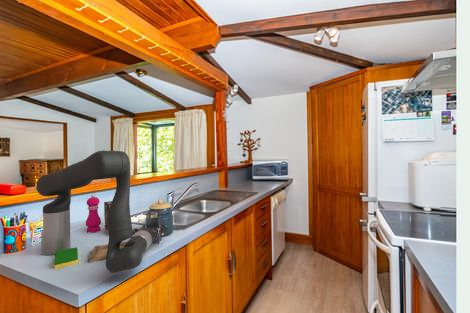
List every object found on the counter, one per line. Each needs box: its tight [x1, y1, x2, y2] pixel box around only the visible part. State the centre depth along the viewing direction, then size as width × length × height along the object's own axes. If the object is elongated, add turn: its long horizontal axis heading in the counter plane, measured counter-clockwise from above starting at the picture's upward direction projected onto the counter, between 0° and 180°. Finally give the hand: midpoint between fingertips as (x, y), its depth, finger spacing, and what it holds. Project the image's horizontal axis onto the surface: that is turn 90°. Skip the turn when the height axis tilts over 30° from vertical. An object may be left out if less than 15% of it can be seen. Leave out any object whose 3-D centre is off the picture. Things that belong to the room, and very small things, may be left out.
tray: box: [89, 240, 128, 263], centre depth 94 cm, size 12×12×2 cm
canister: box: [146, 199, 175, 237], centre depth 118 cm, size 13×13×18 cm
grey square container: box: [145, 214, 163, 245], centre depth 107 cm, size 6×7×12 cm
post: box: [150, 212, 157, 218], centre depth 106 cm, size 2×2×14 cm
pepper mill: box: [85, 194, 102, 234], centre depth 124 cm, size 7×7×20 cm
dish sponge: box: [53, 246, 79, 270], centre depth 89 cm, size 7×14×2 cm, turn 36°
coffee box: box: [103, 200, 112, 236], centre depth 120 cm, size 9×6×16 cm
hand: (153, 227), depth 106 cm, fingers open, 8 cm apart
